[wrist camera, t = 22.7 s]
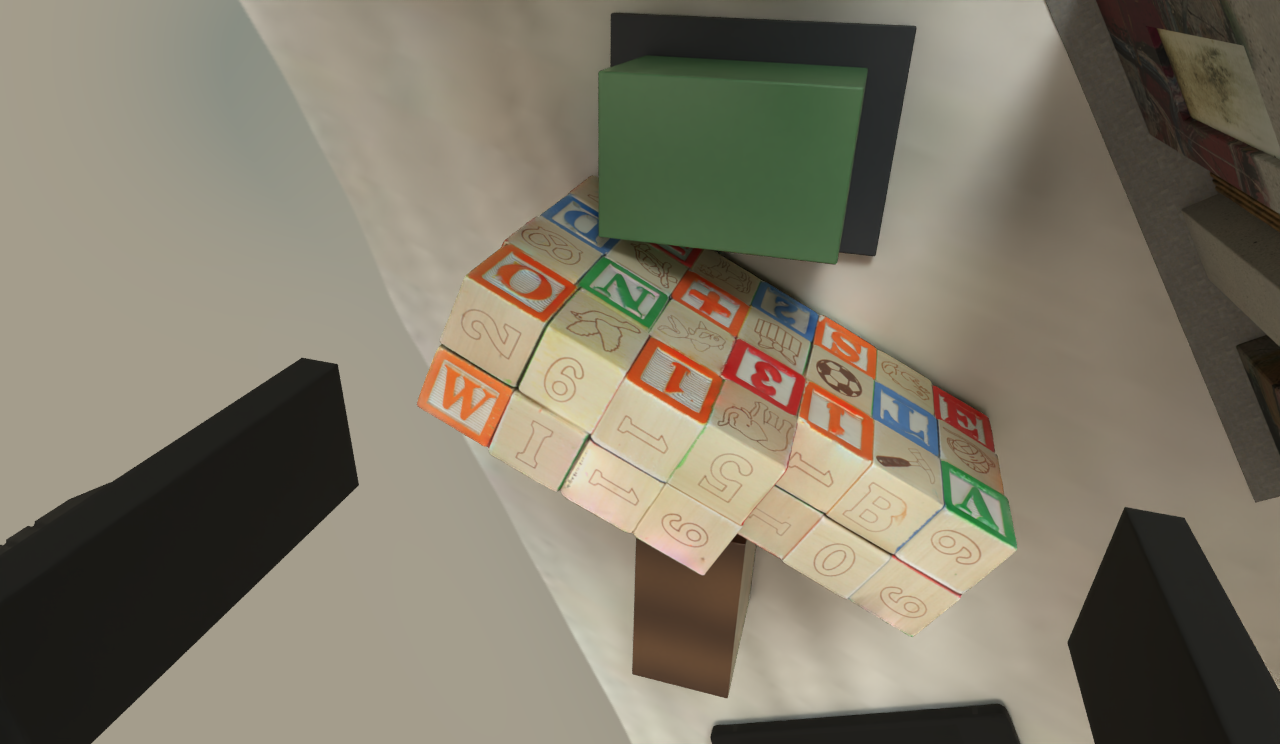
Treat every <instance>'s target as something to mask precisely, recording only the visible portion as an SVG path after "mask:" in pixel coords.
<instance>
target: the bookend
mask: <svg viewBox="0 0 1280 744" xmlns="http://www.w3.org/2000/svg"><path fill="white" fill-rule="evenodd" d="M1045 1H1046V3H1047V5H1048V8H1049V10H1050V12H1051V15H1052V17H1053V20H1054V22H1055V24H1056V27H1057V29H1058V32H1059V34H1060V36H1061V39H1062V41H1063V44H1064V46H1065V48H1066V51H1067V53H1068V56H1069V58H1070V60H1071V63H1072V65H1073V67H1074V70H1075V72H1076V75H1077V77H1078V79H1079V82H1080V84H1081V87H1082V89H1083V91H1084V94H1085V96H1086V99H1087V101H1088V103H1089V106H1090V108H1091V111H1092V113H1093V115H1094V118H1095V120H1096V123H1097V125H1098V127H1099V130H1100V132H1101V134H1102V137H1103V139H1104V142H1105V144H1106V146H1107V149H1108V151H1109V154H1110V156H1111V158H1112V161H1113V163H1114V166H1115V168H1116V170H1117V173H1118V175H1119V178H1120V180H1121V182H1122V185H1123V187H1124V189H1125V192H1126V194H1127V197H1128V199H1129V201H1130V204H1131V206H1132V209H1133V211H1134V213H1135V216H1136V218H1137V221H1138V223H1139V225H1140V228H1141V230H1142V233H1143V235H1144V237H1145V240H1146V242H1147V244H1148V247H1149V249H1150V252H1151V254H1152V256H1153V259H1154V261H1155V264H1156V266H1157V268H1158V271H1159V273H1160V276H1161V278H1162V280H1163V283H1164V285H1165V288H1166V290H1167V292H1168V295H1169V297H1170V300H1171V302H1172V304H1173V307H1174V309H1175V311H1176V314H1177V316H1178V319H1179V321H1180V323H1181V326H1182V328H1183V331H1184V333H1185V335H1186V338H1187V340H1188V343H1189V345H1190V347H1191V350H1192V352H1193V355H1194V357H1195V359H1196V362H1197V364H1198V366H1199V369H1200V371H1201V374H1202V376H1203V378H1204V381H1205V383H1206V386H1207V388H1208V390H1209V393H1210V395H1211V398H1212V400H1213V402H1214V405H1215V407H1216V410H1217V412H1218V414H1219V417H1220V419H1221V421H1222V424H1223V426H1224V429H1225V431H1226V433H1227V436H1228V438H1229V441H1230V443H1231V445H1232V448H1233V450H1234V453H1235V455H1236V457H1237V460H1238V462H1239V465H1240V467H1241V469H1242V472H1243V474H1244V477H1245V479H1246V481H1247V484H1248V486H1249V488H1250V491H1251V493H1252V495H1253V498H1254V500H1255V503H1256V502H1259V501H1263V500H1267V499H1271V498H1275V497H1279V496H1280V0H1045Z"/></svg>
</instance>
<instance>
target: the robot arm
mask: <svg viewBox="0 0 1280 744" xmlns="http://www.w3.org/2000/svg"><path fill="white" fill-rule="evenodd" d="M358 485H359V483H358V477H357V472H356V466H355V461H354V455H353V449H352V443H351V438H350V432H349V427H348V421H347V415H346V409H345V404H344V398H343V392H342V387H341V381H340V375H339V370H338V365H337V364H334V363H328V362H323V361H317V360H311V359H306V358H301V359H299V360H298V361H296V362H295V363H294V364H292V365H290V366H289V367H287V368H286V369H284V370H283V371H281V372H280V373H278V374H277V375H275V376H274V377H272V378H270V379H269V380H268V381H266V382H264V383H263V384H261V385H260V386H258V387H257V388H255V389H254V390H252V391H250V392H249V393H247V394H246V395H244V396H243V397H241V398H240V399H238V400H237V401H235V402H234V403H232V404H231V405H229V406H228V407H226V408H224V409H223V410H221V411H220V412H218V413H217V414H215V415H214V416H212V417H211V418H209V419H208V420H206V421H205V422H203V423H201V424H200V425H199V426H197V427H196V428H194V429H192V430H191V431H189V432H188V433H186V434H185V435H183V436H182V437H180V438H179V439H177V440H175V441H174V442H173V443H171V444H170V445H168V446H166V447H165V448H163V449H162V450H160V451H159V452H157V453H156V454H154V455H153V456H151V457H150V458H148V459H147V460H145V461H143V462H142V463H140V464H139V465H137V466H136V467H134V468H133V469H131V470H130V471H128V472H127V473H125V474H124V475H122V476H121V477H119V478H117V479H116V480H114V481H113V482H111V483H108V484H106V485H103V486H101V487H98V488H96V489H93V490H91V491H88V492H86V493H83V494H81V495H79V496H76V497H74V498H71V499H69V500H68V501H66V502H65V503H63V504H61V505H60V506H58V507H57V508H55V509H54V510H52V511H50V512H49V513H47V514H46V515H44V516H43V517H41V518H40V519H38V520H37V521H35V524H34V526H33V527H30V526H27V527H26V528H24V529H22V530H21V531H19V532H18V533H16V534H15V535H13V536H12V537H10V538H8V539H7V540H6V544H5V545H0V744H91V743H92V742H93V741H94V740H95V739H96V738H97V737H98V736H99V735H101V734H102V733H103V732H104V731H105V729H107V728H108V727H109V726H110V725H111V724H112V723H113V722H114V721H115V720H116V719H117V718H118V717H119V716H120V715H121V714H122V713H123V712H124V711H125V710H126V709H127V708H128V707H130V706H131V705H132V704H133V703H134V702H135V701H136V700H137V699H138V698H139V697H140V696H141V695H142V694H143V693H144V692H145V691H146V690H147V689H148V688H149V687H150V686H151V685H152V684H153V683H154V682H155V681H156V680H157V679H159V678H160V677H161V676H162V675H163V674H164V673H165V672H166V671H167V670H168V669H169V668H170V667H171V666H172V665H173V664H174V663H175V662H176V661H177V660H178V659H179V658H180V657H181V656H182V655H183V654H184V653H185V652H187V650H189V648H191V647H192V646H193V645H194V644H195V643H196V642H197V641H198V640H199V639H200V638H201V637H202V636H203V635H204V634H205V633H206V632H207V631H208V630H209V629H210V628H211V627H212V626H213V625H215V623H217V622H218V621H219V620H220V619H221V618H222V617H223V616H224V615H225V614H226V613H227V612H228V611H229V610H230V609H231V608H232V607H233V606H234V605H235V604H236V603H237V602H238V601H239V600H240V599H241V598H242V597H244V595H246V594H247V593H248V592H249V591H250V590H251V589H252V588H253V587H254V586H255V585H256V584H257V583H258V582H259V581H260V580H261V579H262V578H263V577H264V576H265V575H266V574H267V573H268V572H269V571H270V570H271V569H273V568H274V566H276V564H278V563H279V562H280V561H281V560H282V559H283V558H284V557H285V556H286V555H287V554H288V553H289V552H290V551H291V550H292V549H293V548H294V547H295V546H296V545H297V544H298V543H299V542H300V541H302V540H303V539H304V538H305V537H306V536H307V535H308V534H309V533H310V532H311V531H312V530H313V529H314V528H315V527H316V526H317V525H318V524H319V523H320V522H321V521H322V520H323V519H324V518H325V517H326V516H327V515H328V514H329V513H331V511H333V509H335V508H336V507H337V506H338V505H339V504H340V503H341V502H342V501H343V500H344V499H345V498H346V497H347V496H348V495H349V494H350V493H351V492H352V491H353V490H354V489H355V488H356V487H357V486H358ZM1068 646H1069V650H1070V654H1071V657H1072V661H1073V665H1074V669H1075V672H1076V676H1077V680H1078V683H1079V687H1080V691H1081V694H1082V698H1083V702H1084V705H1085V709H1086V713H1087V716H1088V720H1089V724H1090V728H1091V731H1092V735H1093V739H1094V742H1095V744H1280V691H1279V689H1278V688H1277V686H1276V684H1275V682H1274V680H1273V678H1272V677H1271V675H1270V673H1269V671H1268V669H1267V668H1266V666H1265V664H1264V662H1263V660H1262V658H1261V657H1260V655H1259V653H1258V651H1257V649H1256V647H1255V646H1254V644H1253V642H1252V640H1251V638H1250V637H1249V635H1248V633H1247V631H1246V629H1245V627H1244V626H1243V624H1242V622H1241V620H1240V618H1239V617H1238V615H1237V613H1236V611H1235V609H1234V607H1233V606H1232V604H1231V602H1230V600H1229V598H1228V596H1227V595H1226V593H1225V591H1224V589H1223V587H1222V586H1221V584H1220V582H1219V580H1218V578H1217V576H1216V575H1215V573H1214V571H1213V569H1212V567H1211V566H1210V564H1209V562H1208V560H1207V558H1206V556H1205V555H1204V553H1203V551H1202V549H1201V547H1200V545H1199V544H1198V542H1197V540H1196V538H1195V536H1194V535H1193V533H1192V531H1191V529H1190V527H1189V525H1188V524H1187V522H1186V520H1185V518H1182V517H1176V516H1171V515H1165V514H1160V513H1154V512H1149V511H1143V510H1138V509H1132V508H1127V507H1125V508H1124V510H1123V513H1122V515H1121V517H1120V520H1119V522H1118V524H1117V527H1116V529H1115V532H1114V534H1113V536H1112V539H1111V541H1110V543H1109V546H1108V548H1107V550H1106V553H1105V555H1104V558H1103V560H1102V562H1101V565H1100V567H1099V569H1098V572H1097V574H1096V576H1095V579H1094V581H1093V584H1092V586H1091V588H1090V591H1089V593H1088V595H1087V598H1086V600H1085V602H1084V605H1083V607H1082V609H1081V612H1080V614H1079V617H1078V619H1077V621H1076V624H1075V626H1074V628H1073V631H1072V633H1071V635H1070V638H1069V640H1068Z"/></svg>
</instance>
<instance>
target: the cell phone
mask: <svg viewBox="0 0 1280 744" xmlns="http://www.w3.org/2000/svg"><path fill="white" fill-rule="evenodd" d="M711 742H712V744H1020V742H1019V739H1018V736H1017V734H1016V731H1015V728H1014V726H1013V723H1012V720H1011V718H1010V715H1009V713H1008V711H1007V709H1006V708H1005V707H1004V706H1003V705H1001V704H991V705H984V706H971V707H958V708H945V709H932V710H918V711H905V712H892V713H879V714H866V715H853V716H840V717H826V718H813V719H800V720H787V721H774V722H761V723H747V724H734V725H716V726H714V727H713V729H712V733H711Z"/></svg>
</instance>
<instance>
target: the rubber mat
mask: <svg viewBox="0 0 1280 744" xmlns="http://www.w3.org/2000/svg"><path fill="white" fill-rule="evenodd" d="M915 33H916V26H905V25H882V24H859V23H836V22H813V21H790V20H767V19H744V18H721V17H698V16H675V15H651V14H628V13H612V14H611V67H613V66H616V65H619V64H622V63H625V62H628V61H631V60H634V59H637V58H640V57H643V56H646V55H650V56H667V57H685V58H703V59H720V60H738V61H755V62H773V63H791V64H808V65H826V66H844V67H861V68H867V69H868V73H867V80H866V86H865V93H864V99H863V105H862V112H861V118H860V125H859V131H858V137H857V144H856V150H855V156H854V163H853V169H852V176H851V182H850V188H849V195H848V201H847V208H846V214H845V220H844V226H843V232H842V238H841V243H840V249H839V252H841V253H850V254H859V255H868V256H875V255H876V250H877V244H878V239H879V233H880V227H881V222H882V216H883V211H884V205H885V200H886V194H887V189H888V183H889V177H890V172H891V166H892V161H893V155H894V150H895V144H896V139H897V133H898V128H899V122H900V116H901V111H902V105H903V100H904V94H905V89H906V83H907V78H908V72H909V67H910V61H911V55H912V50H913V44H914V39H915Z"/></svg>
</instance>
